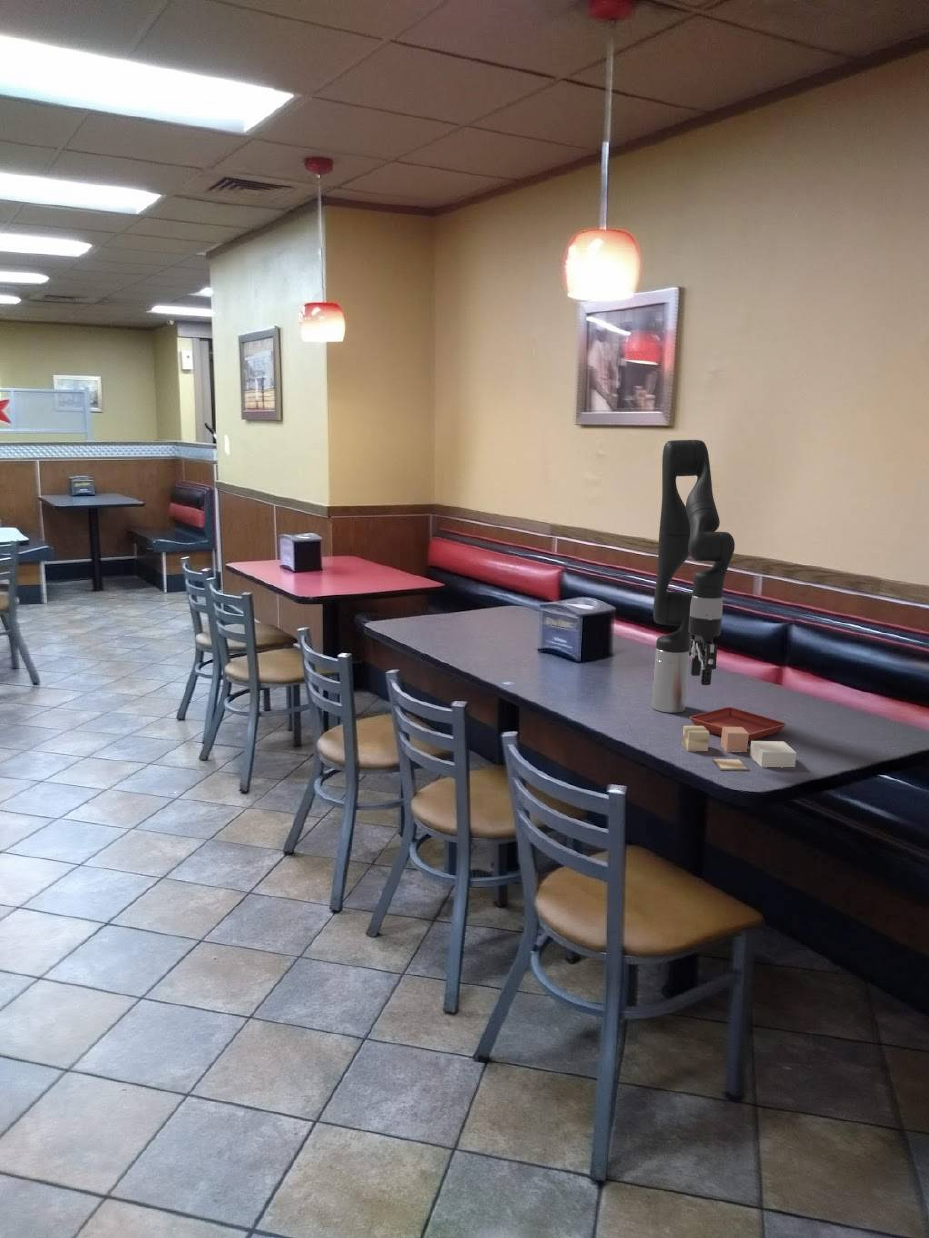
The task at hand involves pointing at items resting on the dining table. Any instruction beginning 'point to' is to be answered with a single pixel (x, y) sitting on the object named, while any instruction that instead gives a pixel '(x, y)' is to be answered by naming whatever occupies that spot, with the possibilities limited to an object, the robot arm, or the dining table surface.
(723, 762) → the tile
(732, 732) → the terracotta cube
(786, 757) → the base slab
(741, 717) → the plant saucer
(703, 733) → the maple cube
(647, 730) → the dining table surface
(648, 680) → the dining table surface
